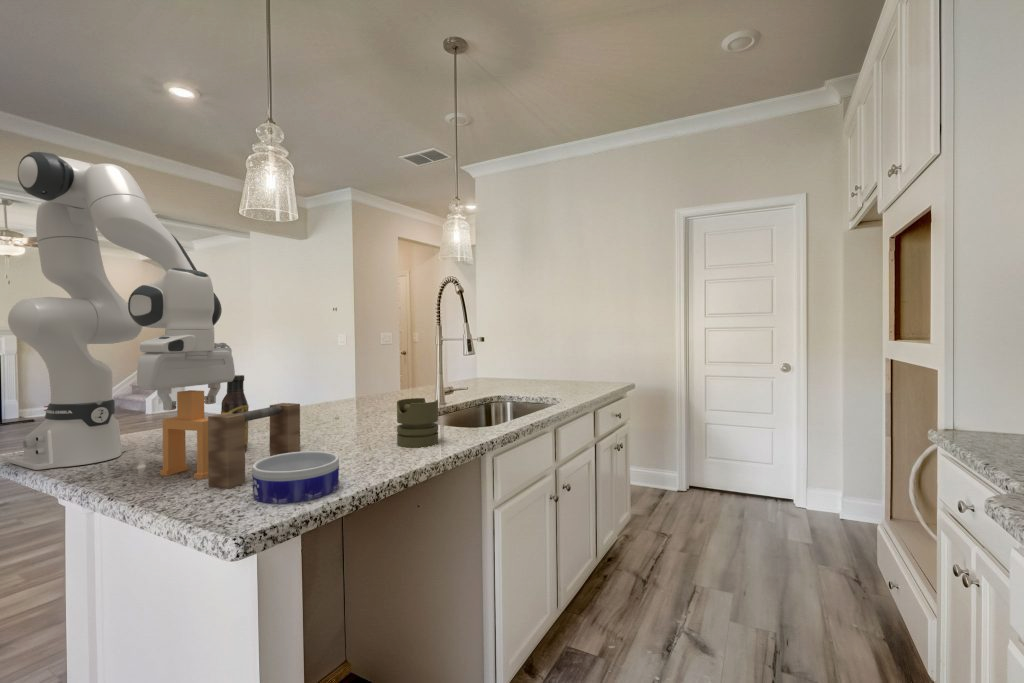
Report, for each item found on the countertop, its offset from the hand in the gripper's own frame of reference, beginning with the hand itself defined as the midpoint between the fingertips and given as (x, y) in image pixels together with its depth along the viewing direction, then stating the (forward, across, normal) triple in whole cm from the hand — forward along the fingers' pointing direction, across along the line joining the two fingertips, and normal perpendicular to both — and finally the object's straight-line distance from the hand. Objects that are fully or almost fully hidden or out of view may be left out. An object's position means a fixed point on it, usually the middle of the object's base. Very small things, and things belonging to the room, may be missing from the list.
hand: (190, 406), depth 102 cm
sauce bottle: (+15, -19, -8) cm, 25 cm away
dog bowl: (+15, +3, +30) cm, 34 cm away
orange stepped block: (+15, 0, 0) cm, 15 cm away
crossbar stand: (+15, -4, +14) cm, 21 cm away
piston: (+15, -40, +34) cm, 55 cm away
